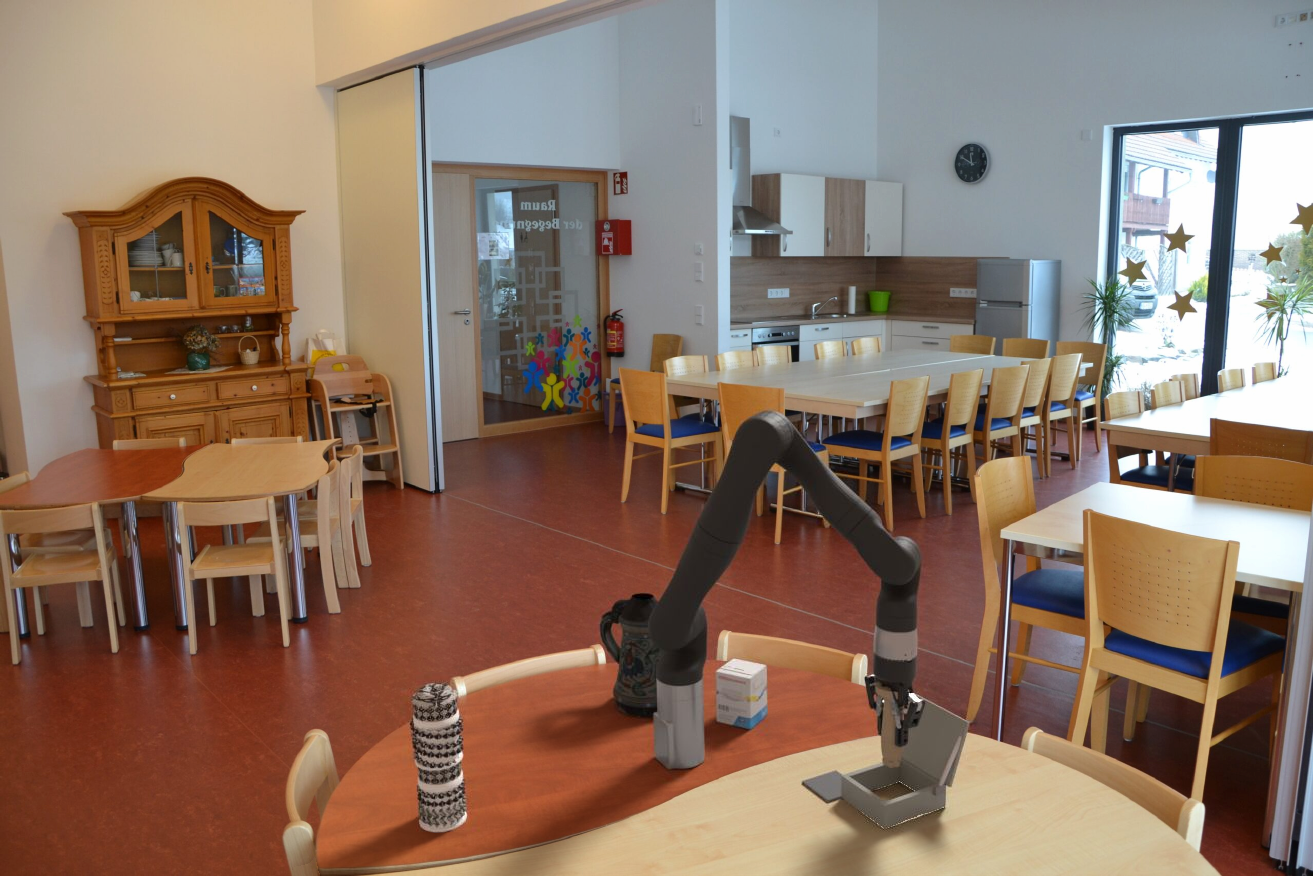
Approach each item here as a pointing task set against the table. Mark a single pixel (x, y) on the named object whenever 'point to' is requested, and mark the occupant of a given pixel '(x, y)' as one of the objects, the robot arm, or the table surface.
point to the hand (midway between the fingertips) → (892, 740)
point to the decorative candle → (438, 758)
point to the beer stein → (633, 655)
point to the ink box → (741, 693)
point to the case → (912, 770)
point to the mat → (826, 785)
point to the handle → (889, 730)
